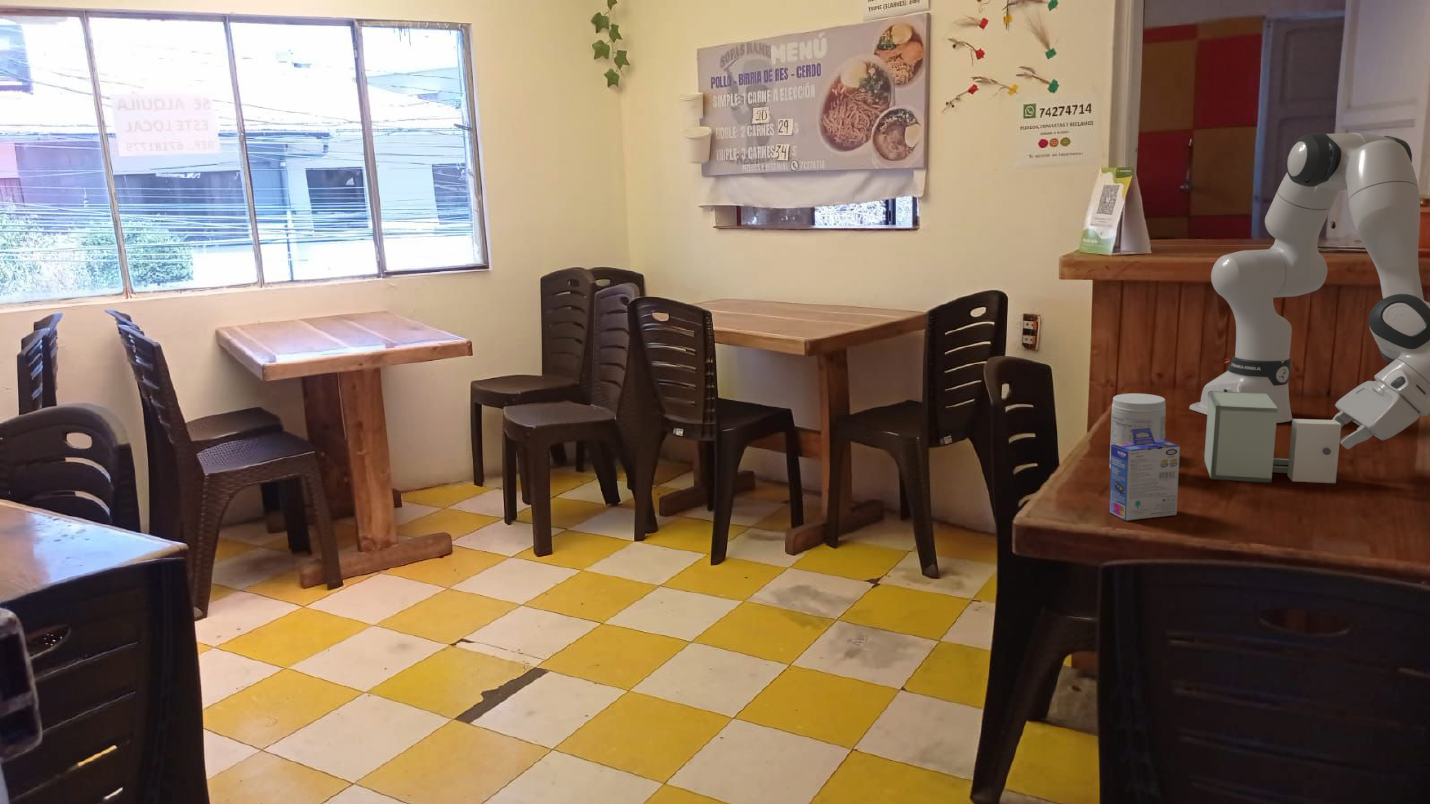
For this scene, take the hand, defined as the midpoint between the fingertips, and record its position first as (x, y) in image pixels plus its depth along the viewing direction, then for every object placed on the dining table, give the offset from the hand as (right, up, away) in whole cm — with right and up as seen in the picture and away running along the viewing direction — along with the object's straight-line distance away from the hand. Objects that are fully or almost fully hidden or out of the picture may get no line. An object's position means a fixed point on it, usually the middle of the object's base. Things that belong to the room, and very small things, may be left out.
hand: (1334, 439), depth 179 cm
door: (-3, -7, +3) cm, 8 cm away
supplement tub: (-32, -7, +11) cm, 34 cm away
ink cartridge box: (-41, -12, -13) cm, 45 cm away
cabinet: (-9, -6, +8) cm, 14 cm away
